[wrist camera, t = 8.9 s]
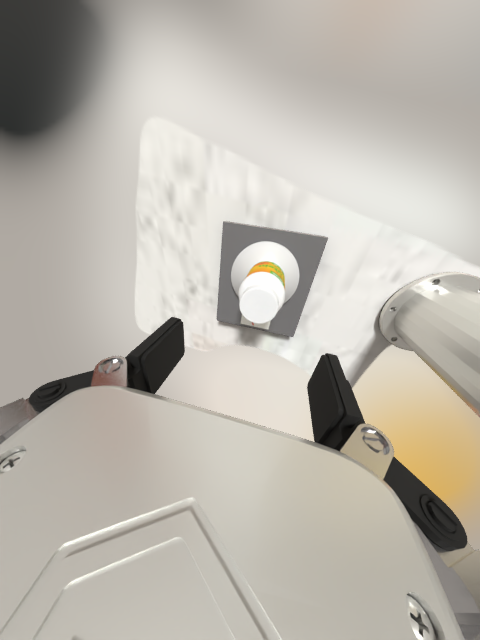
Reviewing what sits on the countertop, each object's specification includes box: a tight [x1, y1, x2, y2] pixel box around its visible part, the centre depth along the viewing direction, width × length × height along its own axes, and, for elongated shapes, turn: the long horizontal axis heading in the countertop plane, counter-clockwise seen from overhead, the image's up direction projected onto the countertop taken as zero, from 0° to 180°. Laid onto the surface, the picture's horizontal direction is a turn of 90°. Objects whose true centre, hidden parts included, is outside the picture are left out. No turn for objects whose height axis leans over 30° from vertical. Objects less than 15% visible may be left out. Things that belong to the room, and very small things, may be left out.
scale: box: [217, 221, 328, 337], centre depth 28 cm, size 14×16×3 cm
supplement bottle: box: [239, 261, 285, 324], centre depth 22 cm, size 5×5×10 cm
